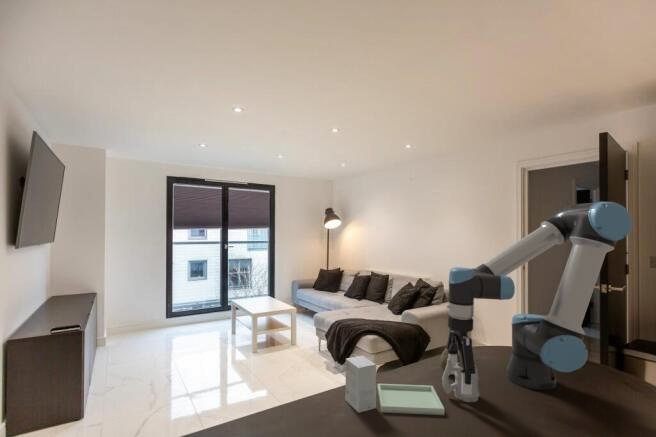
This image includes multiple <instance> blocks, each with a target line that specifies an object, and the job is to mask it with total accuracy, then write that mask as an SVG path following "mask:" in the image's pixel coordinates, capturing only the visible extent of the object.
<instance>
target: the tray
mask: <svg viewBox="0 0 656 437" xmlns="http://www.w3.org/2000/svg"><path fill="white" fill-rule="evenodd" d="M376 391H377V394H378V399H379V400H378V401H379V405H380V410H381V413H386V414H387V413H388V414H391V413H392V414H409V415H411V414H413V415H431V416H432V415H435V416H436V415H438V416H445V412H446V411H445V407H444V405H443V403H442V402H441V400H440V397H439V396H438V394H437V391H436V390H435V388H434V385H425V384H424V385H423V384H420V385H419V384H400V383H398V384H397V383H390V384H389V383H376Z"/></svg>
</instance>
